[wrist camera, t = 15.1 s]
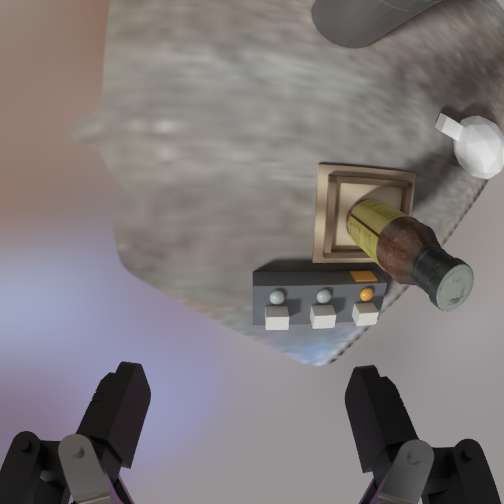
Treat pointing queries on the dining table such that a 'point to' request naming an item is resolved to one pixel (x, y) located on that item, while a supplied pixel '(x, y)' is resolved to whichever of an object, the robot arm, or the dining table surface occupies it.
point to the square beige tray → (344, 197)
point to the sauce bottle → (409, 252)
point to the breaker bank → (317, 298)
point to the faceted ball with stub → (475, 144)
